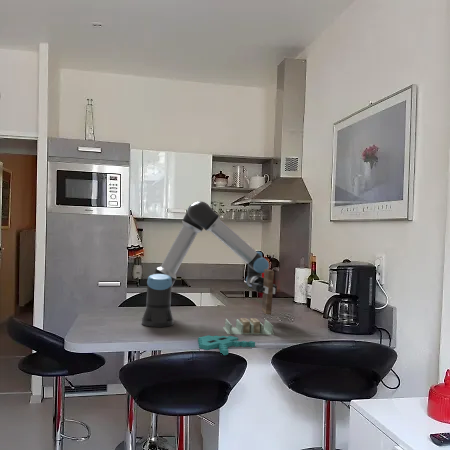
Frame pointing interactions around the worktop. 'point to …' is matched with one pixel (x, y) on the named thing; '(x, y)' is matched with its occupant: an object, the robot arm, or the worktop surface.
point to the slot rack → (264, 329)
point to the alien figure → (222, 343)
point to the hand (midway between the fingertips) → (270, 290)
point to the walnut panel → (268, 297)
